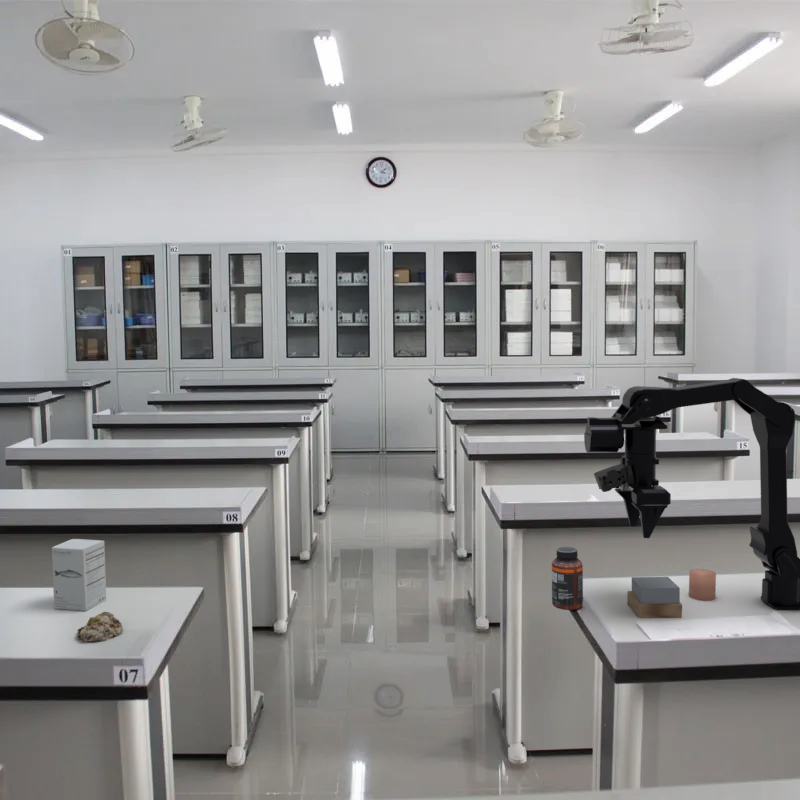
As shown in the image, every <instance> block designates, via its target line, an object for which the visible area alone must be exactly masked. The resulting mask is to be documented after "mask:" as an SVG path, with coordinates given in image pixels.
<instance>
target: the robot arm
mask: <svg viewBox="0 0 800 800" xmlns="http://www.w3.org/2000/svg"><path fill="white" fill-rule="evenodd" d="M622 396H623V397H622V401H621V402H622V403H621V404H620V405H619V407H617V409H616V410H615V412H614V413H613V415H612V416H611V417H594V416H593V417H592V416H591V417H589V416H588V417H587V421H586V422H587V423H586V426H585V431H584V433H583V440H584V441H583V442H584V443H583V444H584V447H585V448H584V449H585V452H586V453H588V454H590V453H591V454H593V453H594V454H595V453H597V454H598V453H599V454H601V453H605V454H607V453H613V454H614V453H618V452H619V450H620V449H622V448H623V447H624V455H621V457H620V463H618V464H615V465H612V466H609V467H606V468H604V469H601V470H599V471H596V472H594V473H593V476H594V478H595V482H596V484H597V486H598V490H601V491H602V493H603V492H604V493H606V492H610V491H612V489H614V491H615V492H616V493H617V494H618V495H619V496H620V497H621V498H622V499H623V503H624V506H625V511H626V515H627V519H628V523H629V527H636V526H637V524H638V522H639V519H640V526H641V532H642V537H643V538H644V539H650V538H651V536H652V534H653V532H654V530H655V528H656V526H657V524H658V522H659V520H660V518H661V517H662V514H663V513H664V511H665V509H667V508H668V506H669V505H671V502H672V501H671V500H672V499H671V493H670V492H669V491H668V490H667V489H666V488H665V487H663V486H661V485H659V481H660V480H659V479H657V477H656V473H657V471H656V469H657V468H656V467H657V466H656V465H660V458H658V457H657V430H666V429H668V427H669V426H668V425H667V424H666V423H664V421H662V420H661V417H660V415H662V414H666V413H667V412H670V411H672V410H675V409H677V408H683V407H684V408H685V407H692V406H698V405H706V404H714V403H722V402H728V401H734V402H735V403H736V404H737V405H738V406H739V407H740V408H741V409H742V410H743V411H744V412H746V413H747V414H748V415H749V416H750V420H751V425H752V431H753V434H754V437H755V439H756V442H757V444H758V446H759V463H760V464H759V465H760V466H759V467H760V468H759V471H760V473H759V475H760V476H759V477H760V478H759V479H760V520H759V522H758V524H757V526H749V532H750V543H749V547H750V548H752V550H753V554H754V555H755V556H756V557H757V558H758V559H759V560H760V561H761V564H762V567H764V568H765V569H767V570H764V577H763V578H762V580H761V582H762V583H761V595H760V600H762V601H763V603H764V602H765V604H767V605H768V606H770V607H771V608H772V609H775V610H800V557H799V556H798V550H797V545H796V539H795V537H794V534H793V532H792V529H791V527H790V524H789V521H788V487H787V486H788V479H787V478H788V465H787V461H788V460H787V458H788V457H787V451H788V450H787V449H788V446H789V444H790V441H791V440H792V438H793V434H794V430H795V423H796V418H797V417H796V412H795V410H794V408H792V407H791V405H789V404H788V403H786V402H783V401H778V400H775V398H772V396H770V395H769V394H766V393H765V392H763V391H762V390H760V389H759V388H757V387H755V386H754V385H753V384H752V383H751V382H749V381H748V380H746V379H745V378H738V377H737V378H736V377H731V378H729V379H725V380H719V381H712V382H711V381H710V382H704V383H694V384H688V385H681V386H675V387H660V386H644V385H643V386H640V385H639V386H638V385H636V386H632V387H629V388H628V389H626V391H625V392H624V394H623V395H622ZM650 418H651V419H650Z"/></svg>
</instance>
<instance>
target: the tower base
mask: <svg viewBox="0 0 800 800" xmlns="http://www.w3.org/2000/svg"><path fill="white" fill-rule="evenodd" d="M626 593H627V602H626V604H627V606H628V607H629V608H630V609H631V610H632V612H633V613H634V614H635V615H636V616H637V618H638V619H682V618H683V604H682V602H680V604H641V603H640V601H639V600H638V599H637V598H636V597H635V596H634V594H633V593H632V590H627V592H626Z"/></svg>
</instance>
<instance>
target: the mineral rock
mask: <svg viewBox="0 0 800 800" xmlns="http://www.w3.org/2000/svg"><path fill="white" fill-rule="evenodd" d="M76 631H77V640H82V641H83V642H94V641H95V642H97V641H99V642H106V641H108V640H112V639H114V638H116V637H119V636H121V635H122V633H123V631H124V629H123V626H122V622H121V621H120V620H119V619H118V618H117V617H115V614H114V613H111V612H109V611H103V612H101V613H98V614H96V615H95V616H91V617H89V619H88V621H87V623H86V624H85V625H84V626H81V627H80V628H78V629H77V630H76Z"/></svg>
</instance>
